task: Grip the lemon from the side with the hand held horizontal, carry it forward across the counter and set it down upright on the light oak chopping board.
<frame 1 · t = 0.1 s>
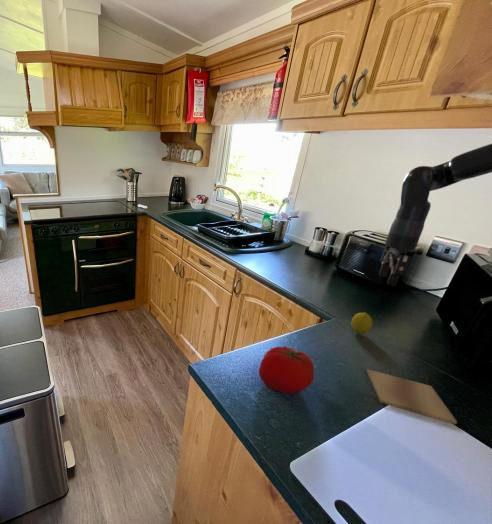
hand: (386, 280, 96), 18 cm above the countertop, tool pointing down, fingers open, 8 cm apart
lemon: (357, 334, 98), on the countertop
board: (406, 395, 72), on the countertop
tomato: (281, 386, 72), on the countertop
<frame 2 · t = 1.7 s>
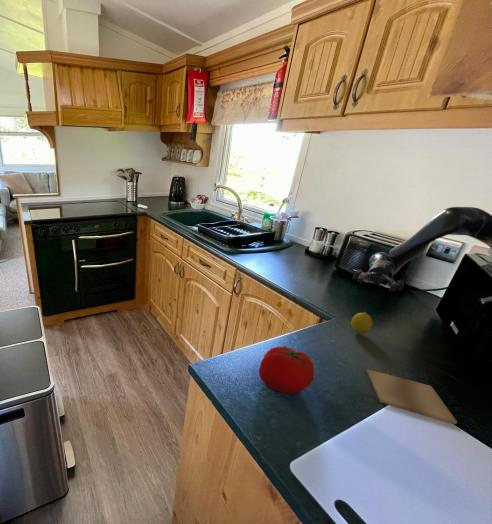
hand: (375, 285, 100), 15 cm above the countertop, tool horizontal, fingers open, 8 cm apart
nothing on the countertop moved.
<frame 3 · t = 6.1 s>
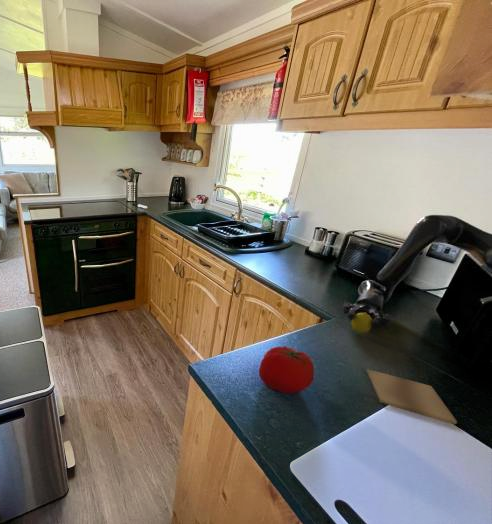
hand: (362, 320, 94), 6 cm above the countertop, tool horizontal, fingers closed on lemon, 5 cm apart
lemon: (357, 334, 98), on the countertop, touching gripper
everything else where it was.
when the fingers open (7 cm above the countertop, at t = 15.6 s): lemon stays where it is, resting on board.
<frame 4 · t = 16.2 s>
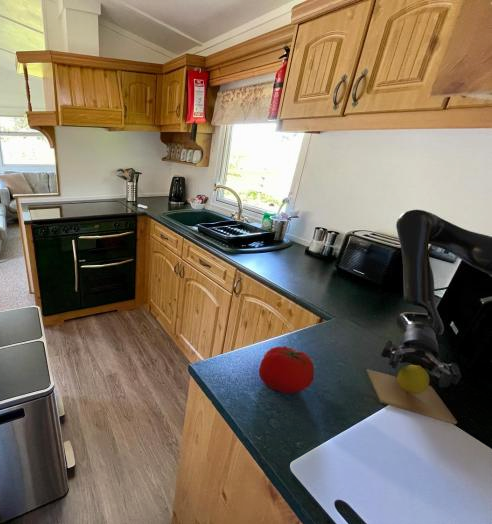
hand: (418, 374, 68), 8 cm above the countertop, tool horizontal, fingers open, 8 cm apart
lemon: (406, 392, 72), point 1 cm above the countertop, touching board
everything else where it was.
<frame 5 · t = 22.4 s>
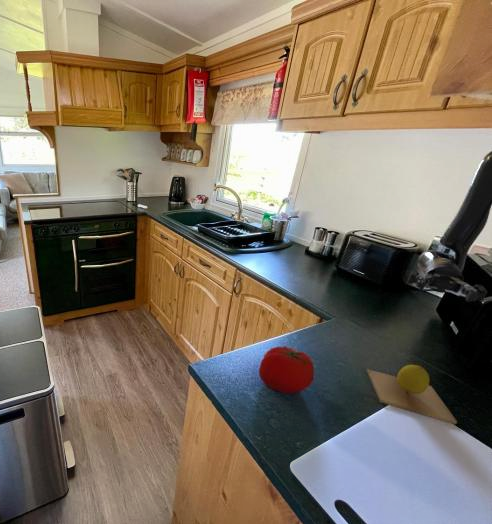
hand: (445, 292, 71), 25 cm above the countertop, tool horizontal, fingers open, 8 cm apart
nothing on the countertop moved.
at the end: lemon inside the target area on the board (0.1 cm from its centre), point 0.6 cm above the board's base; lemon tilted 0°; lemon moved 28.2 cm from its start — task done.
